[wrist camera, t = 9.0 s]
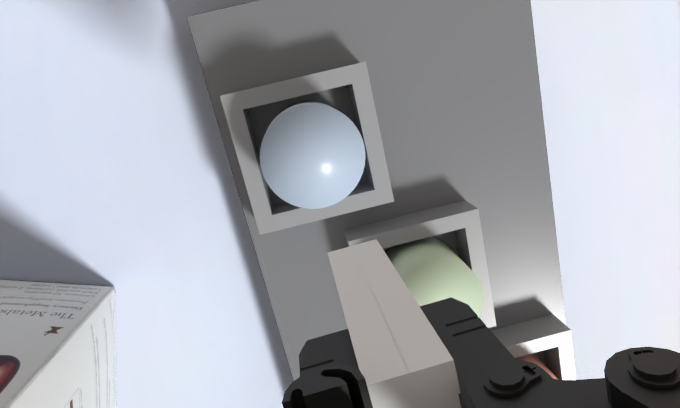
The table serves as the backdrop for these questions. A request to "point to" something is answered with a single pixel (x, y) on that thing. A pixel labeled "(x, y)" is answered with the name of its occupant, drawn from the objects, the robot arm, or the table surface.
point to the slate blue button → (312, 155)
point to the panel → (398, 151)
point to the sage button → (436, 273)
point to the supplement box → (57, 345)
